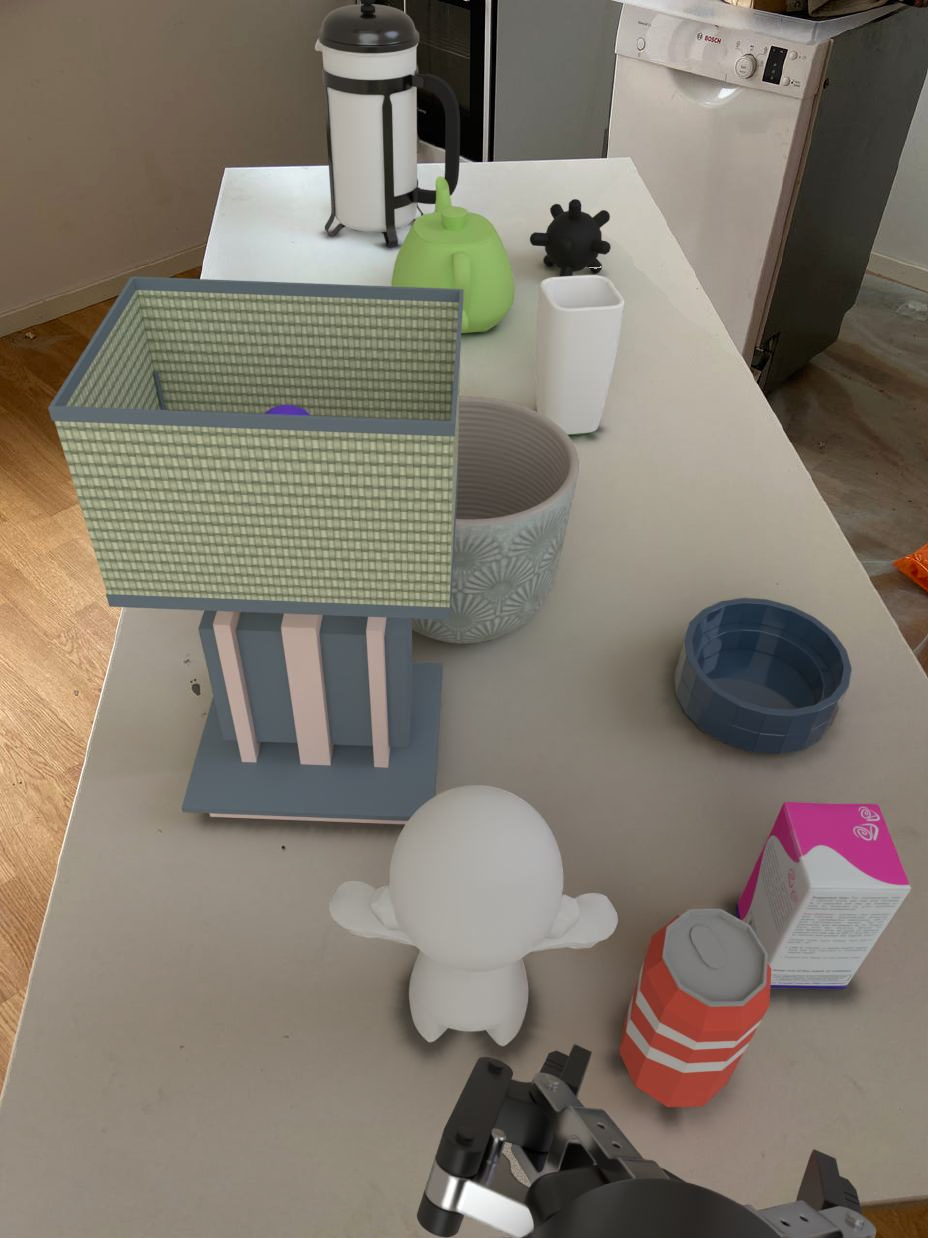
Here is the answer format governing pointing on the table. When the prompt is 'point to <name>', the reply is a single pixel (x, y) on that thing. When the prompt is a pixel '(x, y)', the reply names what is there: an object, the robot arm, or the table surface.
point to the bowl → (761, 675)
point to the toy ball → (573, 239)
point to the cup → (576, 349)
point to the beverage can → (695, 1006)
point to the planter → (505, 518)
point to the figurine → (473, 909)
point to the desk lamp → (282, 522)
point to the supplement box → (823, 892)
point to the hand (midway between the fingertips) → (689, 1123)
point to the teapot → (458, 261)
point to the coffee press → (378, 119)
